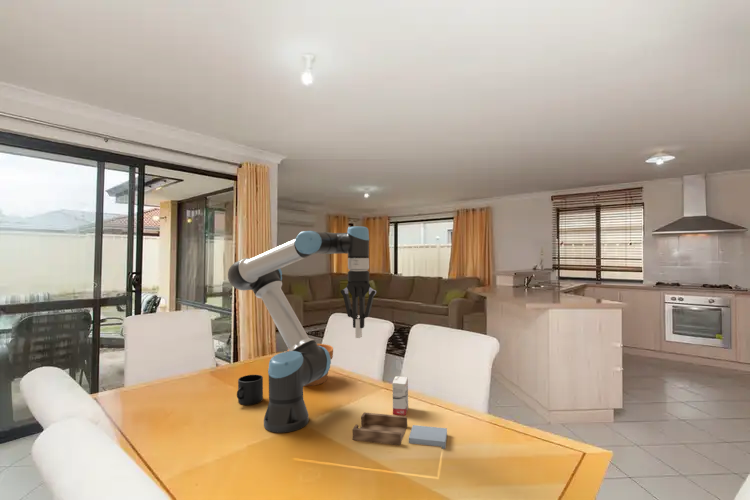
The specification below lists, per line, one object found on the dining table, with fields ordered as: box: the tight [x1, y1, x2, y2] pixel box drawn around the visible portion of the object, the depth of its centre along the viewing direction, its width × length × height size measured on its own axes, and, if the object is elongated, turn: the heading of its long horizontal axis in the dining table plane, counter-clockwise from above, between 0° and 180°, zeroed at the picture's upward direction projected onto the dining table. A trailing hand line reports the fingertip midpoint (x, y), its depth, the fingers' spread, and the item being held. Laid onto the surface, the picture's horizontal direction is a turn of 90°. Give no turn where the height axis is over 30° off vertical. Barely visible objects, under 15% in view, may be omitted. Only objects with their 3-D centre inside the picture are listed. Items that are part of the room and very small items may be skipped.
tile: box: [408, 424, 448, 450], centre depth 118 cm, size 11×9×3 cm
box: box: [352, 412, 408, 446], centre depth 122 cm, size 15×13×4 cm
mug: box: [236, 374, 264, 406], centre depth 151 cm, size 9×12×9 cm
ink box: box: [392, 375, 409, 416], centre depth 139 cm, size 9×5×12 cm, turn 168°
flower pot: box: [286, 343, 334, 387], centre depth 175 cm, size 21×21×15 cm
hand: (358, 337), depth 133 cm, fingers closed
